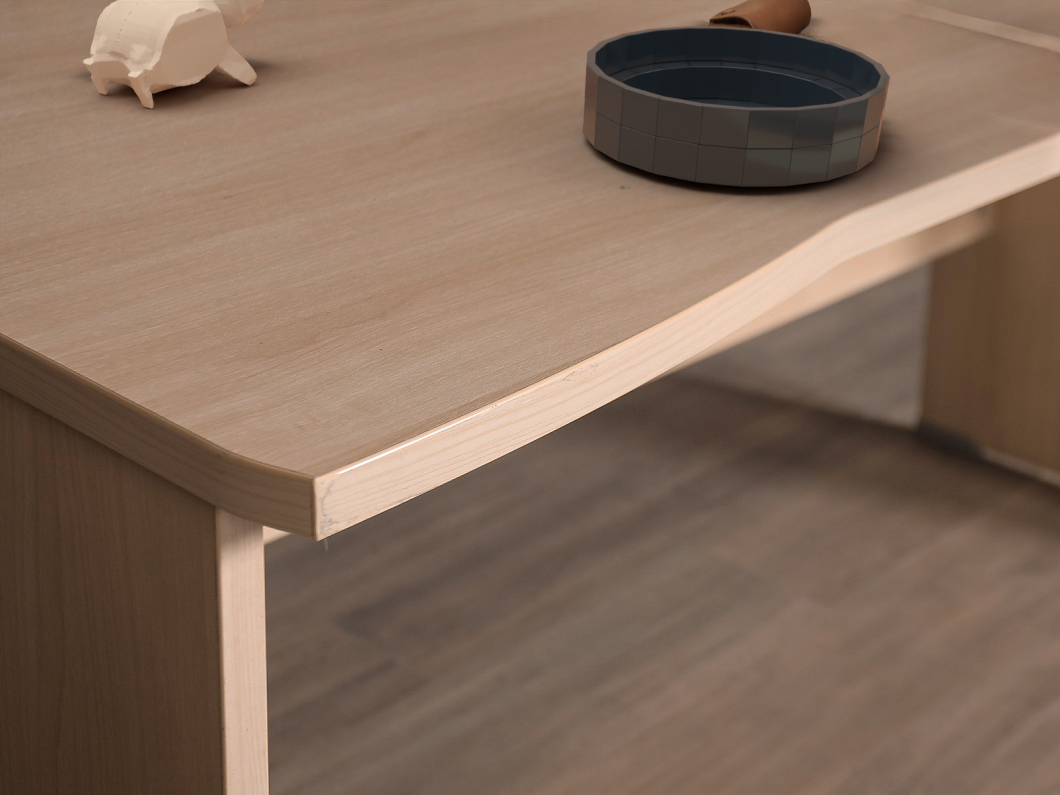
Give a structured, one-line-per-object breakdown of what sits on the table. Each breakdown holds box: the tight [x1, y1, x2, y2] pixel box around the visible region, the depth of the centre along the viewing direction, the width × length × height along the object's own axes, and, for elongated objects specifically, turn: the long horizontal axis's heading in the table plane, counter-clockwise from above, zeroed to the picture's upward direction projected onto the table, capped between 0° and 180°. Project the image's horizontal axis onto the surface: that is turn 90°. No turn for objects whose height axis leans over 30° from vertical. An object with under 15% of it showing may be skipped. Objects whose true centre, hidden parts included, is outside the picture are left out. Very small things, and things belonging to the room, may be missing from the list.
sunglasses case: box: [706, 0, 812, 35], centre depth 105 cm, size 18×7×7 cm
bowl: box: [582, 25, 891, 188], centre depth 85 cm, size 20×20×6 cm
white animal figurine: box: [82, 0, 265, 109], centre depth 93 cm, size 9×8×15 cm
